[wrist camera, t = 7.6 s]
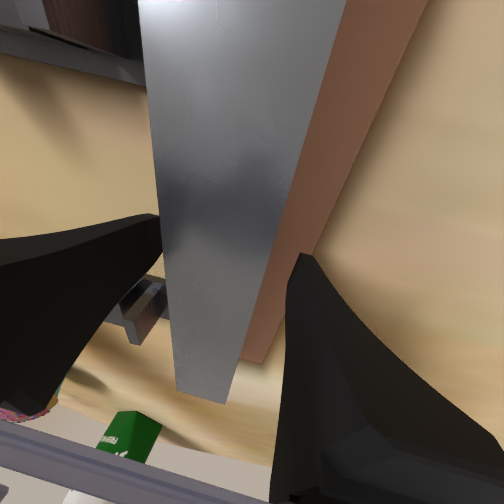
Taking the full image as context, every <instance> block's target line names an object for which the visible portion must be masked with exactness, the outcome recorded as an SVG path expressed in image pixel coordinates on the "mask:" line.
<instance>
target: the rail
mask: <svg viewBox="0 0 504 504" xmlns="http://www.w3.org/2000/svg"><path fill="white" fill-rule="evenodd" d="M345 4H346V0H138V7H139V17H140V27H141V37H142V47H143V57H144V67H145V77H146V87H147V97H148V107H149V117H150V127H151V137H152V148H153V158H154V168H155V178H156V188H157V198H158V208H159V218H160V228H161V238H162V248H163V258H164V268H165V278H166V288H167V298H168V308H169V318H170V328H171V338H172V348H173V358H174V368H175V378H176V388H177V391H180V392H183V393H187V394H190V395H194V396H197V397H200V398H204V399H207V400H211V401H214V402H217V403H221V404H224V405H225V403H226V400H227V396H228V393H229V390H230V386H231V383H232V380H233V376H234V373H235V370H236V367H237V363H238V360H239V357H240V353H241V350H242V347H243V343H244V340H245V337H246V333H247V330H248V327H249V323H250V320H251V317H252V313H253V310H254V307H255V303H256V300H257V297H258V293H259V290H260V287H261V283H262V280H263V277H264V273H265V270H266V267H267V263H268V260H269V257H270V253H271V250H272V247H273V243H274V240H275V237H276V233H277V230H278V227H279V223H280V220H281V217H282V213H283V210H284V207H285V203H286V200H287V197H288V193H289V190H290V187H291V183H292V180H293V177H294V173H295V170H296V167H297V163H298V160H299V157H300V153H301V150H302V147H303V143H304V140H305V137H306V133H307V130H308V127H309V123H310V120H311V117H312V113H313V110H314V107H315V103H316V100H317V97H318V93H319V90H320V87H321V83H322V80H323V77H324V73H325V70H326V67H327V63H328V60H329V57H330V54H331V50H332V47H333V44H334V40H335V37H336V34H337V30H338V27H339V24H340V20H341V17H342V14H343V10H344V7H345Z"/></svg>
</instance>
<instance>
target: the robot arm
mask: <svg viewBox="0 0 504 504" xmlns="http://www.w3.org/2000/svg"><path fill="white" fill-rule="evenodd" d="M162 252H163V248H162V238H161V228H160V218H159V216H157V215H153V214H150V213H147V214H140V215H135V216H131V217H126V218H122V219H118V220H113V221H109V222H105V223H101V224H96V225H91V226H86V227H82V228H77V229H72V230H67V231H61V232H55V233H49V234H42V235H35V236H28V237H18V238H8V239H0V408H3V409H6V410H9V411H13V412H16V413H19V414H22V415H26V416H29V417H30V416H33V415H35V414H38V413H40V412H41V411H43V410H44V409H46V407H47V405H48V404H49V402H50V400H51V399H52V397H53V395H54V394H55V392H56V390H57V389H58V387H59V386H60V384H61V382H62V381H63V379H64V378H65V376H66V374H67V373H68V371H69V370H70V368H71V367H72V365H73V364H74V362H75V361H76V359H77V358H78V356H79V355H80V353H81V352H82V350H83V349H84V347H85V346H86V344H87V343H88V342H89V340H90V339H91V337H92V336H93V335H94V333H95V332H96V331H97V329H98V328H99V326H100V325H101V324H102V322H103V321H104V320H105V319H106V317H107V316H108V315H109V313H110V312H111V311H112V309H113V308H114V307H115V306H116V305H117V303H118V302H119V301H120V300H121V299H122V298H123V297H124V296H125V295H126V294H127V293H128V292H129V291H130V289H131V288H132V287H133V286H134V285H135V284H136V283H137V282H138V281H139V280H140V279H141V278H142V277H143V276H144V275H145V274H146V273H147V272H148V270H149V269H150V268H151V267H152V266H153V265H154V264H155V262H156V261H157V259H158V258H159V257H160V255H161V254H162ZM285 336H286V347H285V363H284V374H283V384H282V394H281V403H280V412H279V420H278V429H277V437H276V444H275V452H274V459H273V466H272V474H271V481H270V492H269V503H268V502H265V501H262V500H259V499H255V498H252V497H249V496H246V495H243V494H239V493H236V492H233V491H230V490H227V489H223V488H220V487H217V486H214V485H211V484H207V483H204V482H201V481H198V480H195V479H191V478H188V477H185V476H182V475H178V474H175V473H172V472H169V471H166V470H163V469H159V468H156V467H153V466H150V465H146V464H143V463H140V462H137V461H134V460H131V459H127V458H124V457H121V456H118V455H115V454H111V453H108V452H105V451H102V450H99V449H95V448H92V447H89V446H86V445H83V444H79V443H76V442H73V441H70V440H66V439H63V438H60V437H57V436H54V435H50V434H47V433H44V432H41V431H38V430H34V429H31V428H28V427H25V426H22V425H18V424H15V423H12V422H9V421H6V420H2V419H0V466H1V467H4V468H7V469H11V470H13V471H16V472H20V473H23V474H26V475H29V476H32V477H35V478H38V479H41V480H44V481H47V482H51V483H54V484H57V485H60V486H63V487H66V488H69V489H72V490H75V491H78V492H82V493H85V494H88V495H91V496H94V497H97V498H100V499H103V500H106V501H109V502H113V503H116V504H504V451H503V449H502V448H501V446H500V445H499V443H498V442H497V440H496V439H495V437H494V436H493V435H492V434H491V433H489V432H488V431H487V430H486V429H484V428H483V427H482V426H480V425H479V424H478V423H477V422H475V421H474V420H473V419H472V418H470V417H469V416H468V415H466V414H465V413H464V412H463V411H461V410H460V409H459V408H457V407H456V406H455V405H454V404H452V403H451V402H450V401H449V400H447V399H446V398H445V397H443V396H442V395H441V394H440V393H438V392H437V391H436V390H435V389H434V388H432V387H431V386H430V385H429V384H428V383H427V382H425V381H424V380H423V379H422V378H421V377H420V376H418V375H417V374H416V373H415V372H414V371H413V370H411V369H410V368H409V367H408V366H407V365H406V364H405V363H404V362H402V361H401V360H400V359H399V358H398V357H397V356H396V355H395V354H394V353H393V352H392V351H391V350H390V349H389V348H387V347H386V346H385V345H384V344H383V343H382V342H381V341H380V340H379V339H378V338H377V337H376V336H375V335H374V334H373V333H372V332H371V331H370V330H369V329H368V328H367V326H366V325H365V324H364V323H363V322H362V321H361V320H360V319H359V318H358V317H357V316H356V314H355V313H354V312H353V311H352V310H351V309H350V307H349V306H348V305H347V304H346V302H345V301H344V300H343V299H342V297H341V296H340V295H339V293H338V292H337V291H336V289H335V288H334V287H333V285H332V284H331V282H330V281H329V279H328V278H327V276H326V275H325V274H324V272H323V270H322V269H321V267H320V266H319V264H318V263H317V261H316V260H315V258H314V257H313V255H309V254H305V253H301V252H300V253H299V256H298V258H297V261H296V263H295V265H294V268H293V270H292V273H291V275H290V278H289V280H288V283H287V290H286V298H285ZM8 490H9V487H7V486H5V485H2V484H0V502H1V501H2V500H3V498H4V497H5V496H6V495H7V493H8Z"/></svg>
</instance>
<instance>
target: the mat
mask: <svg viewBox="0 0 504 504" xmlns="http://www.w3.org/2000/svg"><path fill="white" fill-rule="evenodd" d="M427 2H428V0H346V4H345V7H344V10H343V14H342V17H341V20H340V24H339V27H338V30H337V34H336V37H335V40H334V44H333V47H332V50H331V54H330V57H329V60H328V63H327V67H326V70H325V73H324V77H323V80H322V83H321V87H320V90H319V93H318V97H317V100H316V103H315V107H314V110H313V113H312V117H311V120H310V123H309V127H308V130H307V133H306V137H305V140H304V143H303V147H302V150H301V153H300V157H299V160H298V163H297V167H296V170H295V173H294V177H293V180H292V183H291V187H290V190H289V193H288V197H287V200H286V203H285V207H284V210H283V213H282V217H281V220H280V223H279V227H278V230H277V233H276V237H275V240H274V243H273V247H272V250H271V253H270V257H269V260H268V263H267V267H266V270H265V273H264V277H263V280H262V283H261V287H260V290H259V293H258V297H257V300H256V303H255V307H254V310H253V313H252V317H251V320H250V323H249V327H248V330H247V333H246V337H245V340H244V343H243V347H242V350H241V353H240V357H239V358H241V359H244V360H248V361H252V362H255V363H259V364H262V363H263V361H264V358H265V356H266V354H267V352H268V350H269V347H270V345H271V343H272V341H273V339H274V337H275V334H276V332H277V330H278V328H279V326H280V323H281V321H282V319H283V317H284V315H285V298H286V290H287V283H288V280H289V278H290V275H291V273H292V270H293V268H294V265H295V263H296V261H297V258H298V256H299V253H300V252H301V253H305V254H309V255H312V253H313V251H314V249H315V247H316V245H317V242H318V240H319V238H320V236H321V234H322V231H323V229H324V227H325V225H326V223H327V220H328V218H329V216H330V214H331V212H332V210H333V207H334V205H335V203H336V201H337V199H338V196H339V194H340V192H341V190H342V188H343V185H344V183H345V181H346V179H347V177H348V175H349V172H350V170H351V168H352V166H353V164H354V161H355V159H356V157H357V155H358V153H359V150H360V148H361V146H362V144H363V142H364V140H365V137H366V135H367V133H368V131H369V129H370V126H371V124H372V122H373V120H374V118H375V115H376V113H377V111H378V109H379V107H380V104H381V102H382V100H383V98H384V96H385V94H386V91H387V89H388V87H389V85H390V83H391V80H392V78H393V76H394V74H395V72H396V69H397V67H398V65H399V63H400V61H401V59H402V56H403V54H404V52H405V50H406V48H407V45H408V43H409V41H410V39H411V37H412V34H413V32H414V30H415V28H416V26H417V24H418V21H419V19H420V17H421V15H422V13H423V10H424V8H425V6H426V4H427Z"/></svg>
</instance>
